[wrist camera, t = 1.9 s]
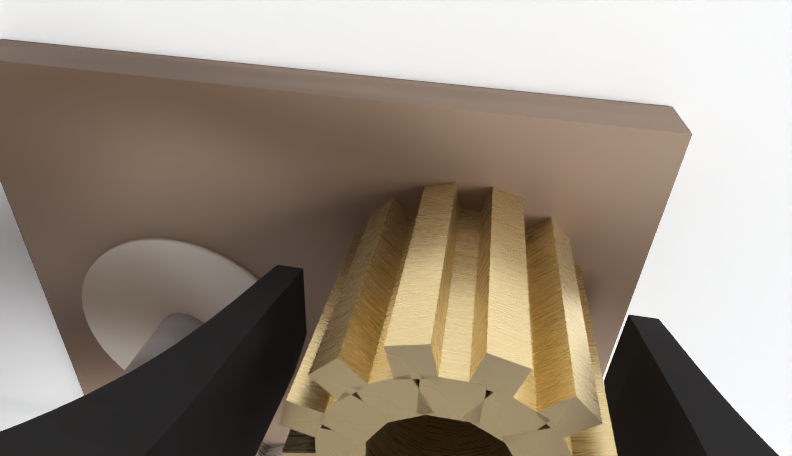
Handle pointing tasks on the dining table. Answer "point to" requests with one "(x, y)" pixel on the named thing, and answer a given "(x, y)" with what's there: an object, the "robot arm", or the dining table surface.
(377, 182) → the gear board
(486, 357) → the brass gear
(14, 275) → the dining table surface
